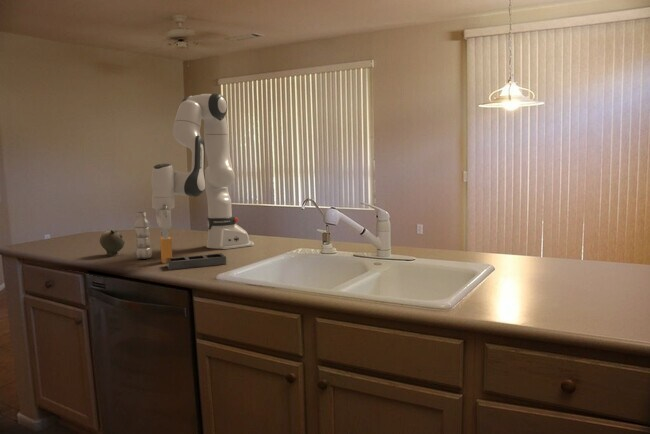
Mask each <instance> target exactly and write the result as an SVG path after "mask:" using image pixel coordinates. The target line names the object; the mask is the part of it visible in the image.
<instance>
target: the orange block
mask: <svg viewBox="0 0 650 434" xmlns="http://www.w3.org/2000/svg"><path fill="white" fill-rule="evenodd" d="M159 239H160V240H159V241H160V242H159V243H160V256H161V257H160V258H161V259H160V261H161V263H162V264H166V258H173V245H172V242H173V241H172V237H170V236H168V239H167V240H164V239H163V237H160V238H159Z"/></svg>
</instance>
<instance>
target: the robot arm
mask: <svg viewBox="0 0 650 434" xmlns="http://www.w3.org/2000/svg"><path fill="white" fill-rule="evenodd" d="M227 111H228V101H227V99H226V98H225V96H223V94H220V93H201V94H196V95H189V96H186V97H184V98H183V99H182V101H181V103H180V104H179V106H178V109H177V112H176V115H175V118H174V123H173V127H172V136H173V138H174V140H176V142H177V143H179V144H180V145H181V146H183V147H185V148H188V149H189V150H190V151H191V170H190V171H187V172H186V171H184V172H183V171H182V172H181V171H178V170H175V169H174V168H173V164H170V163H160V164H155V165H154V166H153V167H152V171H151V182H150V184H151V189H152V194H151V209H154V210H155V218H156V223H157V225H158V226H159V230H160V237H162V238H163V239H164V240H167V239H168V237H169V230H171V228H172V215H171V213H172V209H175V208H176V206H175V205H176V203H175V202H176V201H175V196H176V195H178V196H189V197H194V198H196V197H199V196H201V195H202V193H204V191H205V194H206V201H207V216H208V217H207V222H206V223H207V229H208V232H207V242H206V246H205V247H206V248H208V249H219V250H230V249H237V248H244V247H252V246H254V245H255V243H254V241H252V240H250V237H249V234H248V232H247V230H245V229H244V228H243V227H241V226H240V225H238V222H240V221H239V218H238V217H234V216H233V214H232V213H233V211H232V207H233V206H232V198H231V195H230V193H229V187H230V186H232V185H233V184H234V182H235V180H236V174H235V172H234V170H233V169H234V168H233V163H232V159H231V155H230V144H229V143H230V142H229V141H230V140H229V129H228V122H227V117H226V114H227ZM202 120H203V122H204V127H203V133H204V136H203V137H204V138H203V137H202V136H201V127H202V126H201V125H202ZM206 159H207V163H208V166H207V167H206V166H205V165H206ZM205 167H206V168H205Z"/></svg>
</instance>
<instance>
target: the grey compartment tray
mask: <svg viewBox="0 0 650 434" xmlns="http://www.w3.org/2000/svg"><path fill="white" fill-rule="evenodd" d="M165 264H166V268H167V269H168V270H169V271H171V270H172V271H173V270H181V269H192V268H193V269H194V268H202V267H213V266H223V264H224V265H227V256H225V254H223V253H211V254H199V255H198V254H197V255H190V256H189V255H186V256H179V257H178V256H177V257H172V258H166V263H165Z"/></svg>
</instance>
